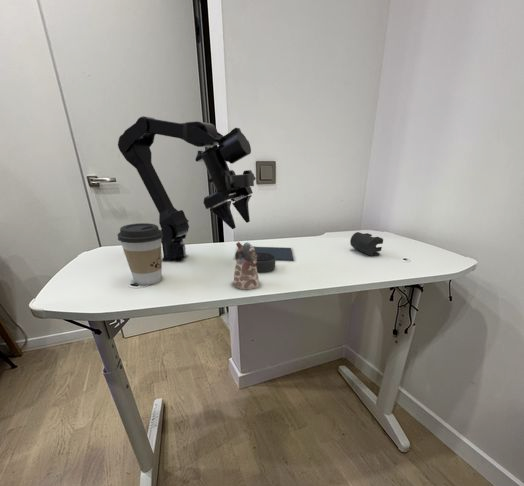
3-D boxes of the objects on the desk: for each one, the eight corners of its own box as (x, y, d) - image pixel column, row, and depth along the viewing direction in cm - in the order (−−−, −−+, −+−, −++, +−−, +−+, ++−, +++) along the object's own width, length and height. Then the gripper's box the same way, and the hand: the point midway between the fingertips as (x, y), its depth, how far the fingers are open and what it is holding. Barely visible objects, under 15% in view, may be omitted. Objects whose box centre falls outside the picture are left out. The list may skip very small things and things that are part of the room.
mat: (235, 259, 100) (235, 258, 100) (239, 247, 113) (239, 246, 113) (293, 260, 100) (293, 259, 100) (290, 248, 113) (290, 247, 112)
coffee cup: (157, 290, 77) (148, 233, 70) (118, 286, 79) (105, 230, 72) (175, 274, 87) (169, 223, 80) (140, 271, 88) (131, 221, 82)
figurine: (254, 291, 78) (255, 247, 72) (229, 287, 79) (228, 244, 74) (261, 281, 84) (262, 240, 78) (238, 278, 86) (238, 237, 80)
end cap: (348, 249, 114) (351, 232, 110) (362, 247, 116) (365, 231, 113) (366, 257, 105) (369, 239, 102) (381, 255, 108) (385, 237, 105)
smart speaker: (279, 271, 91) (280, 259, 89) (252, 274, 88) (252, 262, 86) (269, 262, 98) (269, 251, 96) (244, 264, 96) (244, 253, 94)
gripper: (225, 158, 68) (250, 221, 73) (256, 157, 84) (276, 210, 88) (191, 178, 74) (216, 236, 78) (226, 174, 89) (246, 222, 94)
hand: (241, 225), depth 84 cm, fingers open, 9 cm apart
